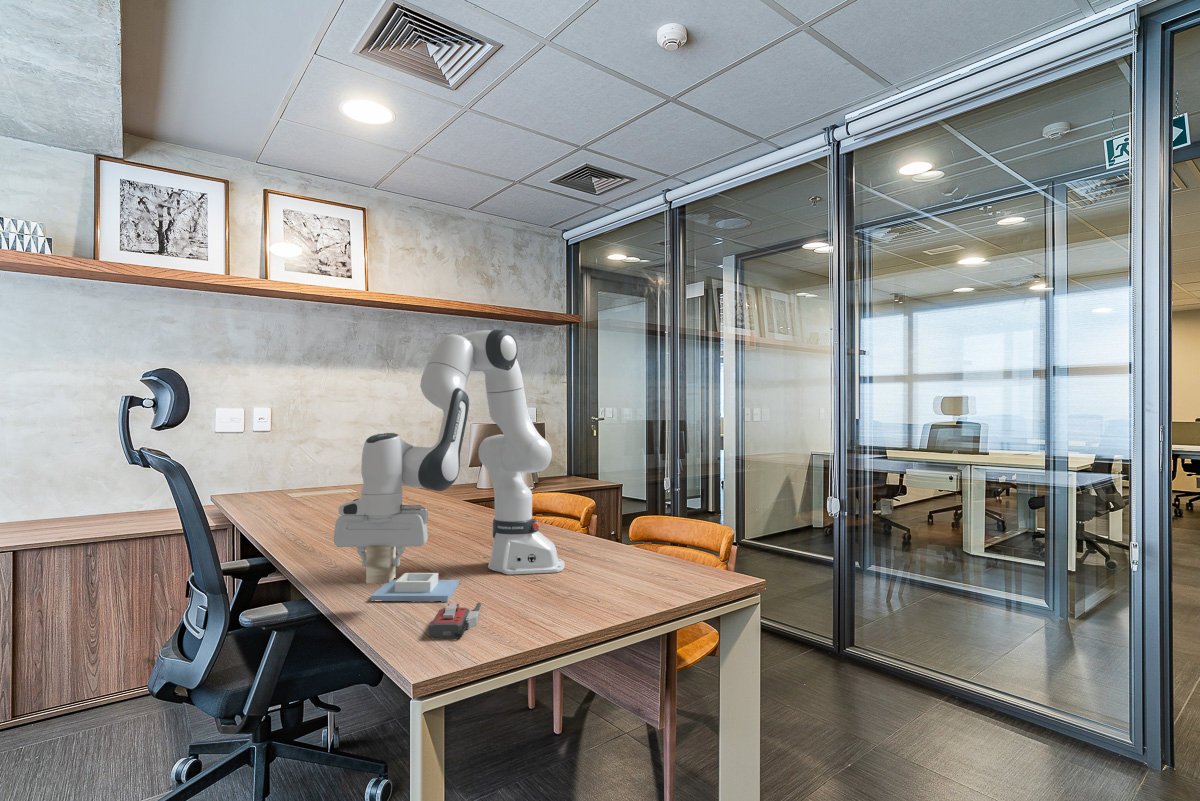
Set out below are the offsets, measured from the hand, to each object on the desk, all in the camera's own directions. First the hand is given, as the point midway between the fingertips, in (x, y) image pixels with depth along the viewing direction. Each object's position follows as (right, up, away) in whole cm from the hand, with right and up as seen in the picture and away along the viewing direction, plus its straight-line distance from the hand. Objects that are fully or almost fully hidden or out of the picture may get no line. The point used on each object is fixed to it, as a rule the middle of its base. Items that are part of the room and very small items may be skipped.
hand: (381, 566), depth 137 cm
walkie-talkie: (+19, -11, -7) cm, 23 cm away
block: (0, -3, 0) cm, 3 cm away
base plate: (+4, -11, +14) cm, 18 cm away
